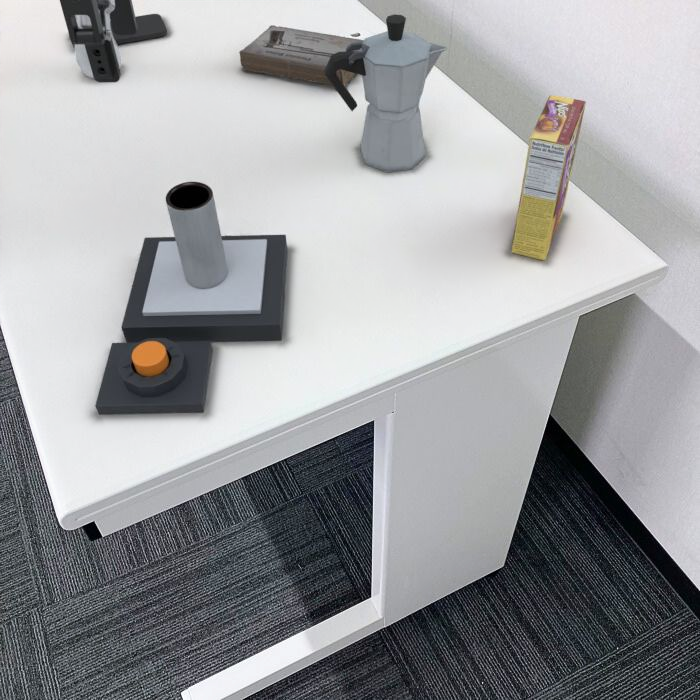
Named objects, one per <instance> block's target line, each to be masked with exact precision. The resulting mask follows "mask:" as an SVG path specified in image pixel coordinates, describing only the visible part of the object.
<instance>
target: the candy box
mask: <svg viewBox="0 0 700 700" xmlns="http://www.w3.org/2000/svg"><path fill="white" fill-rule="evenodd" d="M586 104H587V101H586V100H582V99H576V98H571V97H566V96H560V95H552V94H550V95H549V96H548V98H547V100H546V102H545V104H544V107H543V109H542V111H541V113H540V116H539V118H538V119H537V122H536V124H535V126H534V128H533V131H532V133H531V135H530V137H529V139H528V141H529V142H528V147H527V153H526V161H525V167H524V171H523V173H524V174H523V178H522V184H521V191H520V196H519V202H518V209H517V212H516V213H517V215H516V221H515V229H514V233H513V238H512V239H513V240H512V245H511V254H515V255H519V256H523V257H528V258H532V259H534V260H535V259H536V260H539V261H546V258H547V256H548V254H549V252H550V249H551V246H552V243H553V240H554V237H555V235H556V232H557V230H558V227H559V224H560V222H561V219H562V217H563V212H564V207H565V204H566V197H567V193H568V188H569V184H570V180H571V175H572V170H573V165H574V160H575V156H576V151H577V147H578V141H579V136H580V133H581V132H580V131H581V127H582V123H583V119H584V118H583V117H584V113H585V109H586Z"/></svg>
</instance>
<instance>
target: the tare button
mask: <svg viewBox="0 0 700 700" xmlns="http://www.w3.org/2000/svg"><path fill="white" fill-rule="evenodd" d="M132 360H133V363H134V366H135V369H136V371H137V372H138V373H139V374H141V375H143V376H147V377H151V376H156V375H159V374H161V373H162V372H163V371H165V370H166V368H167V367H168V364H169V359H168V355H167V352H166V349H165V347H164V346H163V345H162V344H161V343H159V342H156V341H148V342H144V343H142V344H140V345H138V346H137V347H136V348H135V349H134V350H133V352H132Z"/></svg>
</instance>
